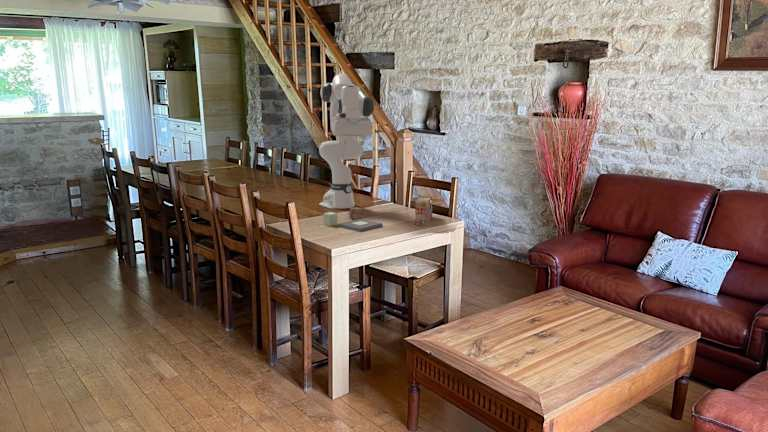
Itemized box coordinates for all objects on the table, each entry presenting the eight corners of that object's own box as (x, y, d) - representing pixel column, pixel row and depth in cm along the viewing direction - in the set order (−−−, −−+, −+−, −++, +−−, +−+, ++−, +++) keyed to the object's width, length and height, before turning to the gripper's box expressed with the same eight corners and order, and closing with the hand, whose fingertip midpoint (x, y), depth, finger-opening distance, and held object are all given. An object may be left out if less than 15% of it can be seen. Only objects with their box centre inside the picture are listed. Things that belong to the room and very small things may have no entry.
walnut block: (349, 219, 330) (349, 208, 329) (356, 217, 334) (356, 206, 333) (356, 220, 327) (355, 209, 326) (363, 219, 330) (362, 208, 329)
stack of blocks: (420, 216, 336) (421, 194, 334) (432, 217, 335) (432, 194, 333) (415, 225, 316) (415, 201, 313) (427, 225, 315) (427, 202, 312)
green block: (323, 224, 318) (323, 213, 317) (331, 223, 321) (331, 211, 320) (330, 226, 315) (329, 214, 313) (337, 224, 318) (337, 213, 317)
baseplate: (338, 226, 314) (338, 223, 313) (361, 221, 325) (361, 218, 324) (359, 231, 303) (359, 228, 302) (382, 226, 314) (382, 222, 313)
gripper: (368, 120, 310) (370, 146, 308) (330, 118, 301) (331, 145, 299) (373, 116, 304) (375, 143, 302) (334, 114, 295) (336, 142, 294)
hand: (353, 144), depth 301 cm, fingers open, 8 cm apart
